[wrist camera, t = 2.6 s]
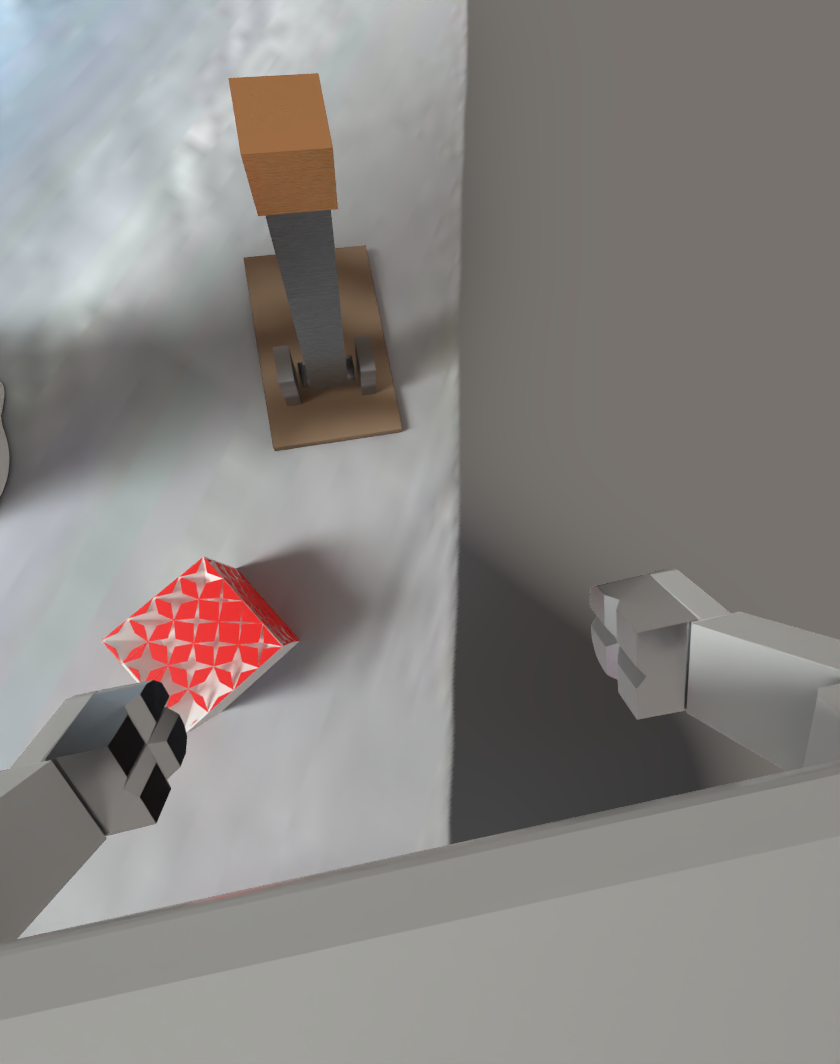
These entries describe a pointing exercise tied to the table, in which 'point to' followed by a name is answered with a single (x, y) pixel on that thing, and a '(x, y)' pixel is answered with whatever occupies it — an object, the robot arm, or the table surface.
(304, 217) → the lever
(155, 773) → the robot arm
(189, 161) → the table surface
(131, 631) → the puzzle cube
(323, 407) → the lever base
